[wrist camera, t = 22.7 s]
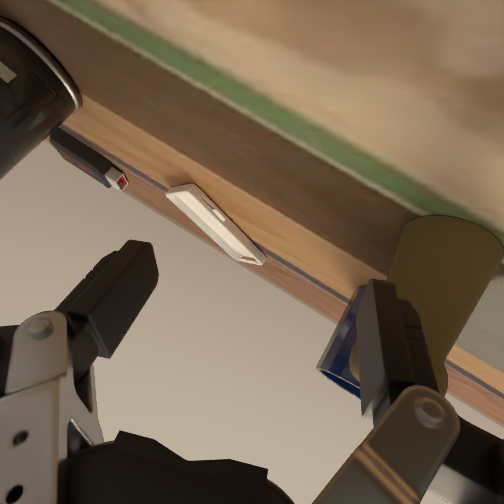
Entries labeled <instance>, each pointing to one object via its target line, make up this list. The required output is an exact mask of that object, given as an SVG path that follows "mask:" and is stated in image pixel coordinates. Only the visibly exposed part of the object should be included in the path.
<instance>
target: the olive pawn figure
mask: <svg viewBox="0 0 504 504" xmlns="http://www.w3.org/2000/svg"><path fill="white" fill-rule="evenodd" d="M503 255H504V248H503V247H502V245H501V243H500V241H499V239H497V238H496V237H495V236H494V235H493V234H491V233H490V232H489V231H488V230H486V229H484V228H482V227H480V226H478V225H476V224H474V223H472V222H469V221H465V220H462V219H458V218H455V217H447V216H438V215H434V216H423V217H419V218H416V219H413V220H410V221H409V222H408V223H407V224H405V225H404V226H403V229H402V232H401V235H400V239H399V242H398V245H397V249H396V252H395V255H394V259H393V262H392V265H391V269H390V272H389V275H388V279H387V281H389V282H394V283H395V286H396V290H397V295H398V299H403V300H409V302H410V303H411V304H412V306H413V307H414V308H415V310H416V311H417V312H418V314H419V317H420V321H421V325H422V331H423V333H424V336H425V343H426V344H427V348H428V352H429V355H430V359H431V363H432V367H433V371H434V374H435V378H436V382H437V386H438V389H439V392H440V394H441V395H442V396H443V397H445V394H446V391H447V388H448V374H447V371H446V368H445V365H444V361H445V359H446V357H447V355H448V354H449V352H450V350H451V348H452V347H453V345H454V343H455V341H456V340H457V338H458V336H459V334H460V333H461V331H462V329H463V327H464V326H465V324H466V322H467V320H468V319H469V317H470V315H471V314H472V312H473V310H474V308H475V307H476V305H477V303H478V301H479V300H480V298H481V296H482V294H483V293H484V291H485V289H486V287H487V286H488V284H489V282H490V280H491V279H492V277H493V275H494V273H495V272H496V270H497V268H498V266H499V265H500V263H501V261H502V259H503ZM349 363H350V371H351V372H352V374H353V376H354V377H355V378H356V379H357V380H358V381H359V382H360V378H359V362H358V345H357V340H356V341H355V343H354V345H353V347H352V349H351V354H350V360H349Z"/></svg>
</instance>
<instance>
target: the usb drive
mask: <svg viewBox="0 0 504 504" xmlns="http://www.w3.org/2000/svg"><path fill="white" fill-rule="evenodd" d="M50 142H51V143H52V145H53V146H54V147H55V148H56V150H57V151H58V152H59V153H60V155H61V156H62V157H63V158H64V159H65V160H67V161H68V162H70V163H71V164H73V165H74V166H76V167H77V168H79V169H80V170H82V171H84V172H85V173H87V174H88V175H90V176H91V177H93V178H94V179H96V180H97V181H99V182H101V183H102V184H103V185H105V186H106V187H107V188H110V187H111V186H113V187H115V188H116V189H118V190H119V191H121V192H122V191H123V189H124V188H125V187H126V186H127V185H128V182H127V180H126V178H125V177H124V175H123V173H121V172H120V171H118V170H116V169H115V168H114V166H113V164H112V163H110V162H109V161H108V160H107V159H106V158H104V157H103V156H101V155H100V154H98V153H96V152H95V151H93V150H92V149H90V148H89V147H87V146H86V145H84V144H83V143H81V142H79V141H78V140H76V139H75V138H73V137H72V136H70V135H69V134H67V133H65V132H64V131H62V130H61V129H59V128H56V129H55V130H54V131H53V132H52V133H51V135H50Z"/></svg>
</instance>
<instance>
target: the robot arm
mask: <svg viewBox="0 0 504 504" xmlns="http://www.w3.org/2000/svg"><path fill="white" fill-rule="evenodd" d="M81 106H82V100H81V97H80V95H79V92H78V91H77V89H76V87H75V85H74V84H73V82H72V81H71V80H70V78H69V77H68V75H67V74H66V73H65V71H64V70H63V69H62V68H61V66H60V65H59V64H58V63H57V62H56V61H55V60H54V58H53V57H52V56H51V55H50V54H49V53H48V52H47V51H46V50H45V49H44V48H43V47H42V46H41V45H40V44H39V43H38V42H36V41H35V40H34V39H33V38H32V37H31V36H30V35H28V34H27V33H26V32H25V31H23V30H22V29H21V28H19V27H18V26H17V25H15V24H13V23H12V22H10V21H8V20H6V19H4V18H1V17H0V181H1V180H2V179H3V178H4V177H5V176H6V175H7V174H8V173H9V172H10V171H11V170H12V169H14V168H15V167H16V166H17V165H18V164H19V163H20V162H21V161H22V160H23V159H24V158H25V157H26V156H27V155H28V154H29V153H31V152H32V151H33V150H34V149H35V148H36V147H37V146H38V145H39V144H40V143H41V142H42V141H43V140H45V139H46V138H47V137H48V136H49V135H50V134H51V133H52V132H53V131H54V130H55V129H56V128H58V127H59V126H60V125H61V124H62V123H63V122H64V121H65V120H66V119H67V118H68V117H69V116H70V115H71V114H72V113H75V112H76V111H77V110H78V109H79V108H80V107H81ZM158 277H159V273H158V268H157V264H156V259H155V255H154V250H153V246H152V244H151V243H149V242H143V241H136V240H128V241H127V242H126V243H125V244H124V246H123V247H122V248H121V249H120V250H119V251H113V252H112V253H110V254H108V255H107V256H105V257H103V258H102V259H101V260H100V261H99V262H98V263H97V264H96V266H95V267H94V268H93V270H91V271H90V272H89V273H88V274H87V275H86V278H85V279H83V280H82V281H81V282H80V283H79V284H78V285H77V286H76V287H75V288H74V289H73V290H72V292H71V293H70V294H69V295H68V296H67V297H66V298H65V299H64V300H63V301H62V302H61V303H60V305H59V306H58V307H57V308H56V309H55V310H54V311H44V312H40V313H37V314H35V315H33V316H31V317H29V318H28V319H26V320H25V321H24V322H23V323H21V325H13V326H1V327H0V504H294V502H293V501H292V500H291V499H290V497H289V496H288V495H287V494H286V493H285V492H284V491H283V490H282V489H281V488H279V487H278V486H277V485H276V484H274V483H273V482H271V481H270V480H268V479H267V473H268V469H266V468H262V467H258V466H254V465H251V464H247V463H243V462H239V461H235V460H231V459H220V460H199V461H188V460H185V459H183V458H182V457H180V456H179V455H177V454H175V453H174V452H173V451H171V450H170V449H168V448H167V447H165V446H163V445H162V444H160V443H159V442H157V441H156V440H154V439H151V438H147V437H143V436H139V435H136V434H132V433H128V432H124V431H119V433H118V435H117V437H116V438H115V440H114V441H109V442H104V439H103V434H102V430H101V428H100V424H99V421H98V415H97V402H96V390H95V377H94V367H93V365H92V363H93V362H94V360H95V359H96V358H97V356H99V357H104V358H108V359H110V358H111V356H112V354H113V353H114V351H115V350H116V348H117V347H118V345H119V344H120V342H121V341H122V339H123V337H124V336H125V334H126V333H127V331H128V330H129V328H130V327H131V325H132V323H133V322H134V320H135V319H136V317H137V316H138V314H139V312H140V311H141V309H142V308H143V306H144V305H145V303H146V301H147V300H148V298H149V297H150V295H151V294H152V292H153V290H154V289H155V287H156V285H157V282H158ZM356 329H357V345H358V362H359V378H360V395H361V411H362V417H365V418H369V419H373V424H374V428H373V430H372V431H371V432H370V433H369V434H368V436H367V437H366V438H365V439H364V441H363V442H362V443H361V444H360V445H359V446H358V447H357V448H356V449H355V450H354V452H353V453H352V454H351V455H350V457H349V458H348V459H347V460H346V462H345V463H344V464H343V465H342V467H341V468H340V469H339V470H338V472H337V473H336V474H335V475H334V477H333V478H332V479H331V480H330V482H329V483H328V484H327V485H326V487H325V488H324V489H323V491H322V492H321V493H320V494H319V495H318V497H317V498H316V499H315V500H314V502H313V503H312V504H420V502H421V500H422V498H423V496H424V494H425V493H426V491H427V490H428V491H430V492H432V493H433V494H435V495H437V496H438V497H440V498H441V499H443V500H445V501H446V502H448V503H450V504H504V439H503V440H502V439H500V438H498V437H496V436H494V435H492V434H491V433H489V432H486V431H484V430H483V429H480V428H479V427H477V426H475V425H473V424H471V423H469V422H467V421H466V420H464V419H463V418H461V417H460V416H459V415H458V414H457V413H456V411H455V409H454V407H453V406H452V405H451V404H450V402H449V401H447V399H446V398H445V397H443V396H442V395H441V394H440V392H439V389H438V386H437V382H436V378H435V374H434V371H433V367H432V363H431V359H430V355H429V352H428V348H427V344H426V343H425V336H424V333H423V331H422V325H421V321H420V317H419V314H418V312H417V311H416V310H415V308H414V307H413V306H412V304H411V303H410V302H409V300H403V299H398V295H397V290H396V286H395V283H394V282H389V281H382V280H376V279H370V280H369V281H368V284H367V287H366V289H365V292H364V295H363V297H362V300H361V303H360V305H359V308H358V312H357V319H356Z"/></svg>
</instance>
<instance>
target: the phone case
mask: <svg viewBox="0 0 504 504" xmlns="http://www.w3.org/2000/svg"><path fill="white" fill-rule="evenodd" d="M165 195H166V196H167V197H168V198H169V199H170V200H171V201H172V202H173V203H174V204H175V205H176V206H177V207H178V208H179V209H181V210H182V211H183V212H184V213H185V214H186V215H187V216H188V217H189V218H190V219H191V220H192V221H193V222H195V223H196V224H197V225H198V226H199V227H200V228H201V229H202V230H203V231H204V232H205V233H206V234H207V235H209V236H210V237H211V238H212V239H213V240H214V241H215V242H216V243H217V244H218V245H219V246H220V247H221V248H223V249H224V250H225V251H226V252H227V253H228V254H229V255H230V256H231V257H232V258H234V259H235V260H239V261H243V262H248V263H253V264H257V265H263V263H264V262H265V260H266V256H265V255H264V254H263V253H262V252H261V251H260V250H259V249H258V248H257V247H256V246H255V245H254V244H253V243H252V242H251V241H250V240H249V239H248V238H247V237H246V236H245V235H244V234H243V232H242V231H241V230H240V229H239V228H238V227H237V226H236V225H235V224H234V223H233V222H232V221H231V220H230V219H229V218H228V217H227V216H226V215H225V214H224V213H223V212H222V211H221V210H220V209H219V208H218V207H217V206H216V205H215V204H214V203H213V202H212V201H211V200H210V199H209V198H208V197H207V196H206V195H205V194H204V192H203V191H202V190H201V189H200V188H198V187H197V186H196V185H195V184H193V183H192V184H186V185H180V186H175V187H170V189H169V190H168V191H167V192H166V194H165ZM202 197H203V198H204V199H205V200H206V201H207V202H208V203H209V204H210V205H211V206H212V207H213V208H214V209H212V208H211V207H210V206H209V205H208V204H207V203H206V202H205V201H204V200H203V199H202ZM242 256H247V257H252V258H255V259H256V260H257V261H258V262H254V261H249V260H245V259H241V258H242Z"/></svg>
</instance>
